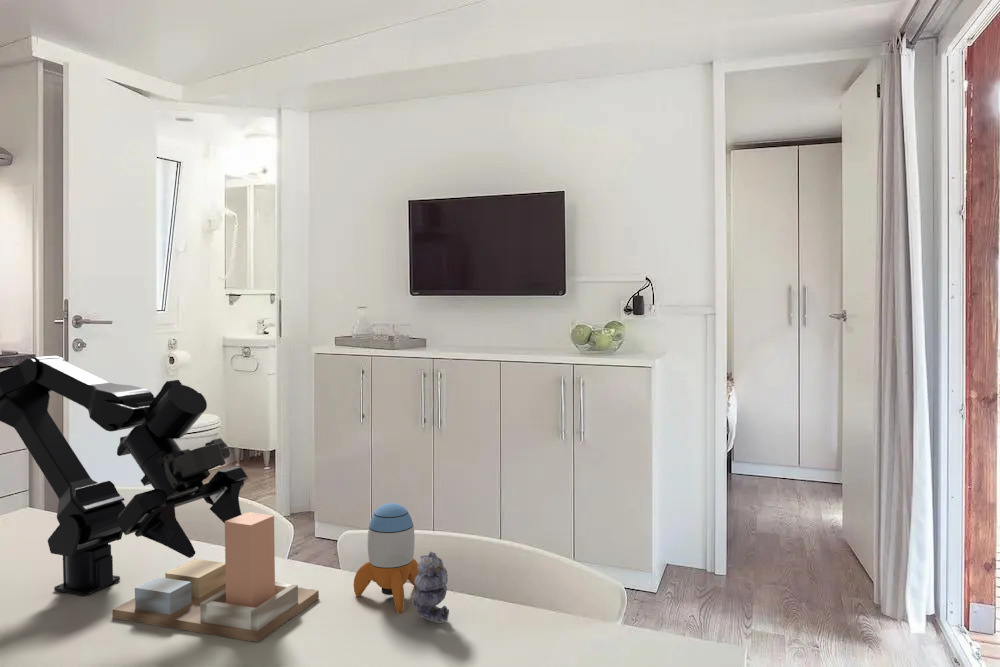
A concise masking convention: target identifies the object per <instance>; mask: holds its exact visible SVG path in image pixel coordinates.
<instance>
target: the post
mask: <svg viewBox="0 0 1000 667" xmlns="http://www.w3.org/2000/svg"><path fill="white" fill-rule="evenodd" d="M224 552H225V553H224V554H225V555H224V558H225V559H224V560H225V562H224V563H225V571H226V603H227V604H234V605H240V606H247V607H254V608H256V607H258V606H259V605H261V604H262V603H264V602H265V601H267V600H269V599H270V598H272V597H273V596H275V582H276V575H275V574H276V572H275V571H276V567H275V566H276V563H275V561H276V559H275V557H276V556H275V515H271V514H265V513H264V514H262V513H257V512H250V511H248V512H245V513H242V514H241V515H240V516H237V517H235V518H232V519H230V520H227V521H225V523H224Z"/></svg>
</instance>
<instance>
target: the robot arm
mask: <svg viewBox="0 0 1000 667" xmlns="http://www.w3.org/2000/svg"><path fill="white" fill-rule="evenodd" d="M51 392H54V393H56V394H58V395H60V396H62V397H64V398H66V399H68V400H70V401H72V402H74V403H76V404H77V405H80V406H82V407H84V408H85V409H86V410H88V414H89V416H88V417H89V419H91V420H92V421H93V422H94V423H96V424H97V425H98V426H99V427H100V428H102V429H103V430H104V431H105V432H106V431H107V432H116V431H122V430H129V429H131V431H129V433H128V434H127V435H125V436H121V437H120V438H119V444H118V447H117V450H116V455H117V456H118V457H122V456H127V455H131V456H132V457H133V459H134V460H135V462H136V464H137V465H138V467H139V469H141V471H142V473H143V474H144V476H143V477H142V478H141V479H140V482H141V484H142V485H143V486H144V487H145V486H149V485H151V486H152V488H153V489H151V490H148V491H144V492H139V493H137V494H134V496H133V497H132V498H131V499H130V501H129V502H128V503H127V504H126V505H125V503H124V501H125V498H124V497H123V496H122V495H120V493H119V492H118V490H117V487H116V485H115V484H114V483H113V481H111V480H105V481H101V482H97V481H96V480H94V479H92V478H91V476H90V475H89V473H88V472H87V470H86V468H85V467H84V465H83V463H82V462H81V461H80V459H79V457H78V456H77V455H76V453H75V452H74V450H73V449H72V446H71V445H70V444H69V442H68V441H67V439H66V437H65V436H64V434H63V433H62V431H61V430H60V428H59V427H58V425H57V424H56V422H55V420H54V419H53V418H52V416H51V414H50V413H49V411H48V410H49V405H50V398H51V394H50V393H51ZM207 407H208V404H207V400H206V398H205V396H204V395H203V394H202V392H198V390H197V389H196V390H195V389H194V388H193V387H191V386H189V385H185V384H182V383H181V381H180V380H179V379H172V380H171V379H170V380H166V381H165V383H163V386H162V387H161V389H160V390H159V392H158V394H157V395H156V396H154V394H153V393H152V392H151V391H150V390H149V389H147V388H143V387H140V386H135V385H131V384H121V383H120V384H119V383H118V384H117V383H113V382H109V381H108V380H104V379H103V378H100V377H99V376H96V375H94V374H92V373H90V372H88V371H86V370H85V369H82V368H80V367H78V366H76V365H74V364H72V363H70V362H67V361H66V360H65V358H63V357H61V356H58V355H40V356H37V355H36V356H30V357H29V358H26V359H24V360H23V361H21V362H20V363H19V364H15V366H14V365H13V366H11V367H9V368H6V369H5V370H3V371H0V422H1V423H3V424H5V425H7V426H10V427H12V428H14V430H15V431H16V433H17V434H18V436H19V438H20V439H21V441H22V442H23V444H24V446H25V447H26V448H27V450H28V451H29V453H30V455H31V456H32V457H33V460H34V461H35V463H36V464H37V466H38V468H39V469H40V470H41V472H42V474H43V476H44V477H45V479H46V481H47V483H48V484H49V485H50V488H52V490H53V491H54V493H55V494H56V496H57V498H58V504H57V512H56V519H57V521H58V523H59V524H58V526H57V527H56V529H54V530H53V532H52V534H51V535H50V536H49V537H48V538H47V544H48V549H49V551H50V553H51V554H52V555H53V554H54V555H58V556H59V555H60V556H62V571H63V572H62V575H63V576H62V577H63V581H62V582H63V583H60V584H58V585H56V586H54V587H53V590H54V591H56V592H62V593H67V594H73V595H80V596H87V595H90V594H92V593H94V592H96V591H98V590H101V589H102V588H105V587H107V586H109V585H112V584H114V583H115V582H118V581H120V580H121V576H119V575H115V574H114V566H113V565H114V564H113V563H114V562H113V561H114V560H113V558H114V557H113V555H112V545H111V544H110V543H112V542H116V541H119V540H122V537H123V534H124V535H125V536H128V535H130V534H134V535H135V537H137V538H138V537H144V538H146V539H148V540H150V541H151V540H152V541H154V542H156V543H159V544H161V545H163V546H165V547H167V548H168V549H171V550H173V551H175V552H177V553H179V554H181V555H183V556H185V557H186V558H188V559H192V558H193V557H194V556H195V555H196V550H195V548H194V546H193V544H192V541H191V540H190V539H189V537H188V536H187V534H186V532H185V531H184V529H183V528H182V526H181V525H180V523H179V521H178V520H177V518H176V508H177V507H180V506H183V505H187V504H189V503H193V502H195V501H199V500H202V499H204V501H205V502H206V504H208V505H211V507H210V508H209V510H210V511H211V512H212V513H213V514H214V515H215V516H216V517H217V518H218V519H219V520H220V521H221V522H223V524H225V521H227V520H230V519H232V518H235V517H237V516H240V515H242V511H241V507H240V498H239V495H240V491H241V490H242V489H243V488H244V486H245V483H246V481H247V480H248V479H249V477H248V475H247V473H246V472H245V471H244V469H243V468H242V467H241V466H236V465H235V466H232V467H228V468H224V469H220V470H218V471H217V472H216V473H215V474H214V475H213V477H212V478H210V480H209V481H208V482H207V483H204V482H203V481H204V480H207V479H208V477H209V476H210V475H211V472H210V470H213V469H214V468H217V467H219V466H221V467H222V466H224V465H226V460H227V459H228V458H229V457H230V455H231V452H230V448H229V446H228V445H227V444H226V442H225V441H224V440H223V439H222V438H221V437H220V438H214V439H212V440H210V441H208V442H206V443H205V445H203V446H201V447H197V448H194V449H192V450H191V449H189V448H186V449H181V448H180V446H179V445H178V443H177V442H176V441H175V440H177V439H181V438H182V437H184V436H185V435H186V434H187V433H188V431H190V429H191V428H192V427H193V425H194V424H195V423H196V422H197V421H198V419H199V418H201V416H202V415H203V414H204V412H205V411H206V410H207Z"/></svg>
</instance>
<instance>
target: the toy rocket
mask: <svg viewBox="0 0 1000 667" xmlns="http://www.w3.org/2000/svg"><path fill="white" fill-rule="evenodd" d="M415 538H416V536H415V527H414V522H413V519H412V517H411V515H410V513H409V511H408V510H407V508H406V507H404V506H403V505H402V504H399V503H395V502H390V503H385V504H383V505H381V506H379V507H378V508H377V509H376V510H375V511H374V512H373V515H372V517H371V519H370V522H369V525H368V530H367V557H368V562H366V563H364V564H363V565H361V566H360V567H359V568H358V570H356V573H355V576H354V579H353V591H354V594H355V597H358V598H360V597H361V596H362V595H363V593H364V591H366V589H367V587H368V586H369V584H371V582H374V583H375V584H376V585H377V586H378V587H379V588H381V593H382V594H384V595H386V596H392V597H393V601H394V602H393V603H394V606H395V607H394V608H395V611H396V612H397V613H398V614H402V613H403V612H404V606H405V589H404V585H405V584H406V583H407V581H409V583H411V585H412V586H413V585H414V586H413V587H414V588H417V587H416V586H415V583H414V581H415V578H416V575H417V574H419V572H418V564H419V562H418V561H417V560H416V559H415V558H414V554H415Z"/></svg>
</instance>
